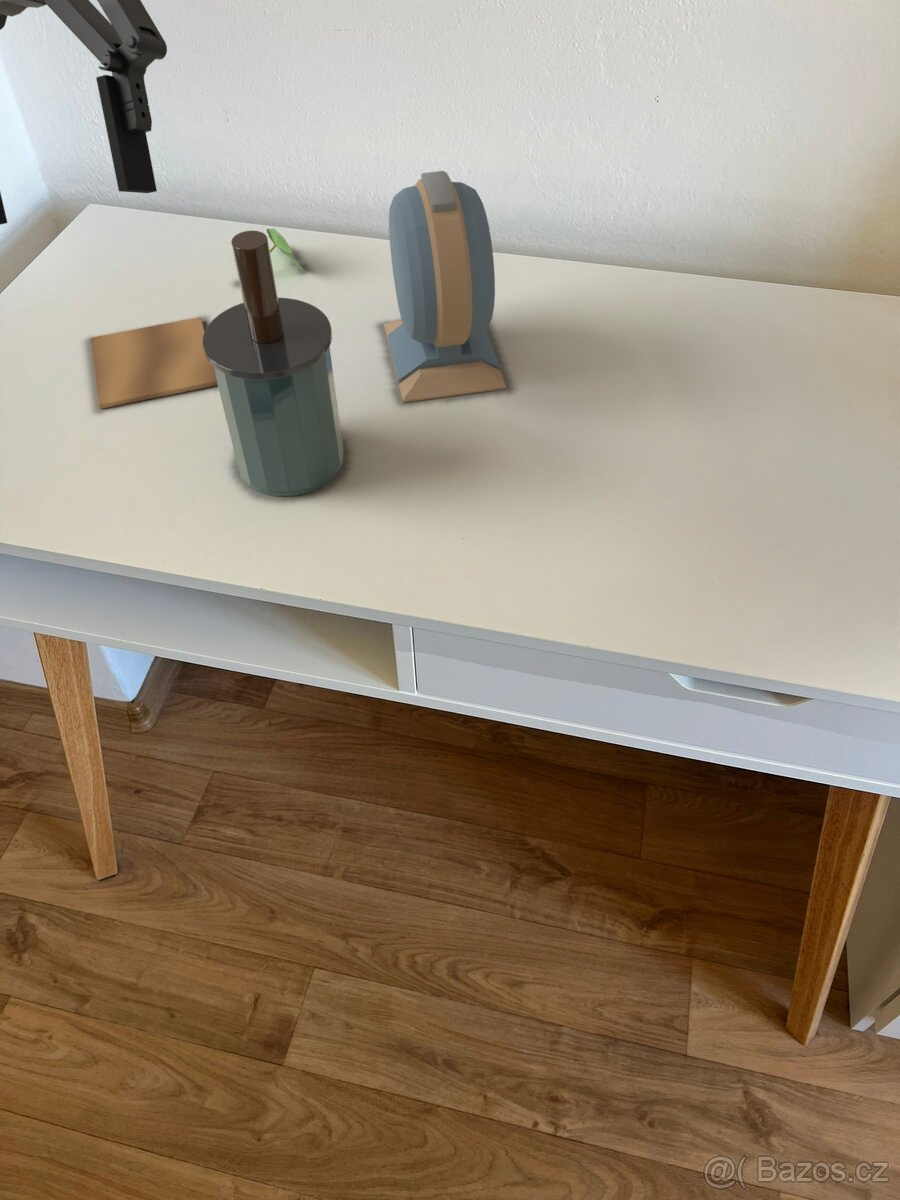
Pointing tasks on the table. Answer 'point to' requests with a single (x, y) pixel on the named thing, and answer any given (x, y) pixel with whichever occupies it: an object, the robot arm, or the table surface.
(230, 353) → the lid
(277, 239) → the seedling
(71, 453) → the table surface
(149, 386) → the mat
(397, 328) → the alarm clock
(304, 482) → the jar
